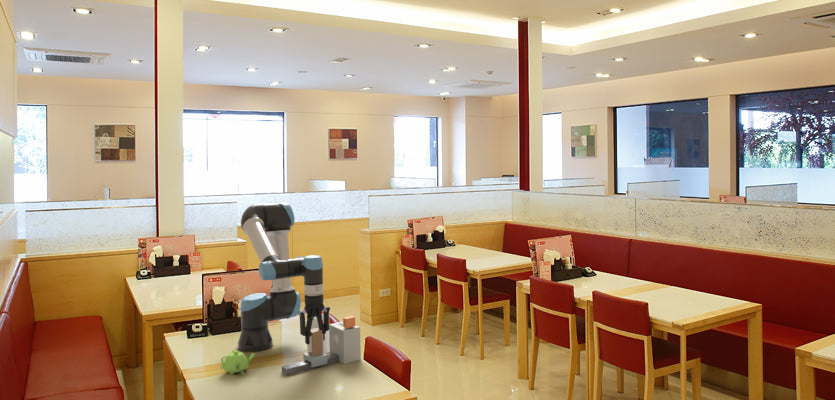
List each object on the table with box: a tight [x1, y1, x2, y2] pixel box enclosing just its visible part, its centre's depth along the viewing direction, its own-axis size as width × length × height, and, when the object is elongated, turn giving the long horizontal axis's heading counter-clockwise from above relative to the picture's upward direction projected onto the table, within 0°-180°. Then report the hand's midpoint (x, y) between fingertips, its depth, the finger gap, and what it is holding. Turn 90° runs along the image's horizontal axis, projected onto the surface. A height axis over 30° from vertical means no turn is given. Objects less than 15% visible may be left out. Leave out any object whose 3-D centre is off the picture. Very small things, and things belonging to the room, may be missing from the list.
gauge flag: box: [342, 315, 356, 328], centre depth 241 cm, size 2×4×4 cm, turn 129°
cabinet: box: [329, 320, 362, 365], centre depth 245 cm, size 12×8×14 cm
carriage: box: [303, 328, 329, 367], centre depth 237 cm, size 8×7×14 cm
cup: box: [311, 313, 330, 355], centre depth 254 cm, size 8×8×16 cm
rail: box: [281, 353, 340, 376], centre depth 236 cm, size 4×24×2 cm, turn 129°
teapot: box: [219, 350, 256, 376], centre depth 232 cm, size 11×12×8 cm
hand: (315, 349), depth 237 cm, fingers closed on carriage, 4 cm apart
